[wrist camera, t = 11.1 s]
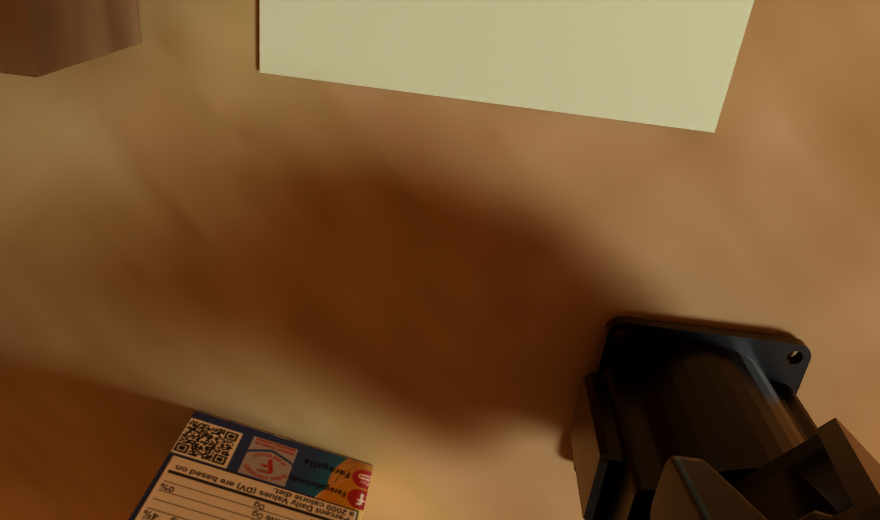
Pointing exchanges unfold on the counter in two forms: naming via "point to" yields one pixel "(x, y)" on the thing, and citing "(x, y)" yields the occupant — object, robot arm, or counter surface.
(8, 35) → the box
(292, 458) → the beverage box
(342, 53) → the lid
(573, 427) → the robot arm
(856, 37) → the counter surface
